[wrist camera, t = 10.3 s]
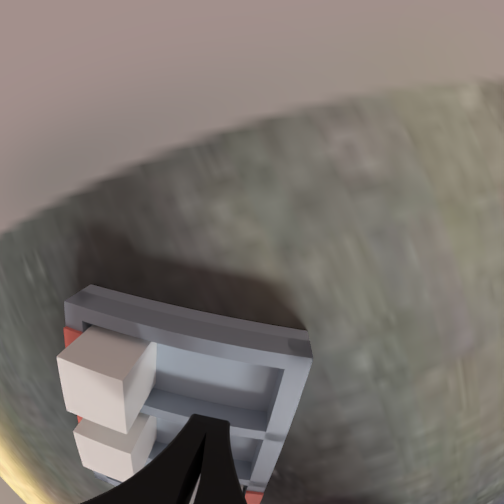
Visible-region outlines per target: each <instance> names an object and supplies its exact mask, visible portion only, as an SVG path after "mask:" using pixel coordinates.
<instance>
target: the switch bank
mask: <svg viewBox="0 0 504 504" xmlns="http://www.w3.org/2000/svg"><path fill="white" fill-rule="evenodd" d="M64 308H65V322H66V326H65V327H64V338H65V347H68V346H69V345H70V344H71V343H72V342H73V341H74V340H76V339H77V338H78V337H79V336H80V335H81V334H83V333H84V332H85V331H86V330H87V329H88V328H89V327H91V326H92V325H93V324H94V325H97V326H100V327H103V328H106V329H109V330H113V331H116V332H119V333H123V334H126V335H130V336H133V337H137V338H140V339H144V340H148V341H151V342H155V343H157V357H156V383H155V385H154V387H153V389H152V390H151V392H150V394H149V396H148V397H147V399H146V401H145V403H144V405H143V406H142V408H141V410H140V412H141V413H144V414H147V415H151V416H154V417H157V438H156V440H155V443H154V445H153V447H152V450H151V452H150V454H149V456H148V459H147V461H146V463H145V466H146V465H147V464H148V463H150V462H151V461H152V460H153V459H154V458H155V457H156V456H157V455H158V454H159V453H161V452H162V451H163V450H164V449H165V448H166V447H167V445H168V444H169V443H170V442H171V441H172V440H173V439H174V438H175V437H176V436H177V434H178V433H179V432H180V431H181V429H182V428H183V427H184V425H185V424H186V423H187V421H188V420H189V418H190V416H191V415H192V414H199V415H204V416H208V417H213V418H218V419H223V420H228V421H229V422H230V443H231V450H232V456H233V460H234V465H235V469H236V473H237V476H238V480H239V483H240V485H243V494H244V497H245V499H246V502H247V504H260V502H261V499H262V497H263V493H264V490H265V488H266V486H267V483H268V481H269V479H270V476H271V474H272V471H273V469H274V467H275V464H276V462H277V459H278V457H279V454H280V452H281V449H282V446H283V444H284V441H285V439H286V436H287V433H288V431H289V428H290V425H291V423H292V420H293V417H294V414H295V411H296V409H297V406H298V403H299V400H300V397H301V394H302V391H303V388H304V385H305V382H306V379H307V376H308V373H309V370H310V367H311V364H312V361H313V355H312V350H311V345H310V341H309V336H308V331H306V330H299V329H293V328H287V327H281V326H275V325H270V324H264V323H259V322H253V321H248V320H242V319H237V318H232V317H227V316H222V315H217V314H212V313H208V312H203V311H198V310H193V309H189V308H184V307H180V306H175V305H171V304H167V303H162V302H158V301H154V300H150V299H146V298H142V297H138V296H134V295H130V294H126V293H122V292H118V291H114V290H110V289H107V288H103V287H99V286H96V285H92V284H90V285H89V286H87V287H86V288H84V289H82V290H81V291H79V292H78V293H76V294H74V295H73V296H71V297H70V298H68V299H67V300H65V301H64ZM77 418H78V422H79V423H80V421H81V420H82V419H83V417H80V416H78V415H77ZM145 466H144V467H145ZM94 474H95V477H96V478H98V479H100V480H102V481H105V482H107V483H110V484H113V485H115V486H118V485H119V484H121V483H122V482H121V481H119V480H116V479H113V478H111V477H108V476H106V475H103V474H101V473H98V472H96V471H94ZM200 475H201V474H200ZM199 477H200V476H199Z"/></svg>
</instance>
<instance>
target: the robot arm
mask: <svg viewBox="0 0 504 504" xmlns="http://www.w3.org/2000/svg"><path fill="white" fill-rule="evenodd" d="M200 474H201V475H200ZM199 476H200V481H199V485H198V488H197V492H196V496H195V499H194V503H193V504H247V502H246V499H245V497H244V494H243V492H242V489H241V486H240V483H239V480H238V476H237V473H236V469H235V465H234V460H233V456H232V450H231V443H230V422H229V421H228V420H223V419H218V418H213V417H208V416H204V415H199V414H192V415H191V416H190V418H189V420H188V421H187V423H186V424H185V425H184V427H183V428H182V429H181V431H180V432H179V433H178V434H177V436H176V437H175V438H174V439H173V440H172V441H171V442H170V443H169V444H168V445H167V447H166V448H165V449H164V450H163V451H162V452H161V453H159V454H158V455H157V456H156V457H155V458H154V459H153V460H152V461H151V462H150V463H148V464H147V465H146V466H145V467H144V468H142V469H141V470H140V471H138V472H137V473H136V474H134V475H133V476H132V477H130V478H129V479H127V480H126V481H124V482H122V483H121V484H119V485H118V486H116V487H114V488H113V489H111V490H109V491H107V492H105V493H103V494H101V495H99V496H97V497H94V498H92V499H90V500H88V501H85V502H83V503H80V504H189V503H190V500H191V498H192V495H193V492H194V490H195V487H196V484H197V482H198V479H199Z"/></svg>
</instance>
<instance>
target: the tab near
mask: <svg viewBox="0 0 504 504" xmlns="http://www.w3.org/2000/svg"><path fill="white" fill-rule="evenodd" d="M156 357H157V343H155V342H151V341H148V340H144V339H140V338H137V337H133V336H130V335H126V334H123V333H119V332H116V331H113V330H109V329H106V328H103V327H100V326H97V325H94V324H93V325H92V326H91V327H89V328H88V329H87V330H86V331H85V332H84V333H83V334H81V335H80V336H79V337H78V338H77V339H76V340H74V341H73V342H72V343H71V344H70V345H69V346H68V347H66V348H65V349H64V350H63V351H62V352H61V353H60V354H59V355H57V363H58V369H59V375H60V380H61V386H62V391H63V396H64V400H65V405H66V409H67V411H69V412H71V413H73V414H76V415H78V416H80V417H83V418H85V419H87V420H90V421H92V422H95V423H97V424H100V425H102V426H105V427H108V428H110V429H113V430H116V431H119V432H121V433H124V434H127V433H128V432H129V430H130V428H131V426H132V424H133V423H134V421H135V419H136V417H137V415H138V414H139V412H140V410H141V408H142V406H143V405H144V403H145V401H146V399H147V397H148V396H149V394H150V392H151V390H152V389H153V387H154V385H155V383H156Z"/></svg>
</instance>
